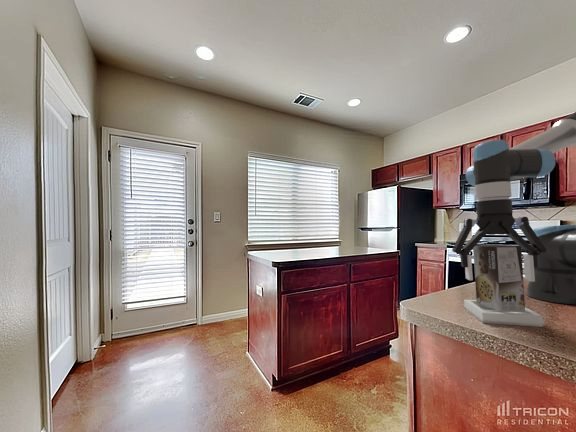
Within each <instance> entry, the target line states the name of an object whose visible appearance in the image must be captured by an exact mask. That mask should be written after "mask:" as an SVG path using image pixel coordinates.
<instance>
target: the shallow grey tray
mask: <svg viewBox="0 0 576 432" xmlns="http://www.w3.org/2000/svg"><path fill="white" fill-rule="evenodd" d="M463 304H464V306H463V307H464V309H465V310H466V311H467V312H468V313H469V314H471V315H472V316H474V317H475V318H476V319H478V320H479V321H480V322H481V323H482V324H492V325H493V324H494V325H495V324H496V325H509V326H510V325H511V326H522V327H523V326H524V327H537V328H538V327H540V328H544V317H543V315H542V314H539V313H537V312H536V311H534V310H531V309H529V308H527V307H525V312H500V311H497V310H495V309H492V308H490V307H487V306H485V305H482V304H479V303H477V301H476V299H463Z"/></svg>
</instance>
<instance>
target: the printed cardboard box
mask: <svg viewBox="0 0 576 432" xmlns="http://www.w3.org/2000/svg"><path fill="white" fill-rule="evenodd" d="M472 250H473V264H474V265H473V266H474V282H475V300H476V301H477V303H479V304H482V305H485V306H487V307H490V308H492V309H495V310H497V311H500V312H525V308H526V302H525V301H526V300H525V287H524V286H525V285H524V271H523V269H524V266H523V253H522V250H523V249H522V247H521V246H519V245H508V244H506V245H505V244H504V245H503V244H480V245H478V244H477V245H476V246H475V247H474V248H473V249H472Z"/></svg>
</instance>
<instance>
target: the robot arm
mask: <svg viewBox="0 0 576 432" xmlns="http://www.w3.org/2000/svg"><path fill="white" fill-rule="evenodd" d="M572 147H576V111H574V112H573V113H571V114H569V115H568V116H566V117H564V118H562V119H560V120H559V121H557V122H555V123H554V124H552V126H551V128H549V129H547V130H544V131H542V132H541V133H539V134H537V135H535V136H533V137H531V138H529V139H527V140H525V141H522V142H521V143H519V144H517V145H515V146H513V147H510V146H509V144H508V142H507V140H503V139H494V140H489V141H488V140H487V141H483V142H481V143H479V144H477V145H475V146H474V148H473V152H472V155H473V156H472V163H473V165H470V166H468V168H467V170H466V172H465V179H466V181H467V183H468V184H469V186H472V187H475V188H474V189H475V199H476V200H477V201H476V216H477V217H476V219H472V218H465V219H463V227H462V229H461V231H460V233H459V235H458V237H457V239H456V241H455V244H454V245H453V247H452V249H451V250H452V252H453V253H456V254H459V256H460V266H461V267H462V268H464V273H465V279H466V280H468V281H474V276H473V265H472V264H473V261H472V255H470V254H469V253H471V251H472V250H473V248H474V247H475V246H476V245H478V243H480V241H481V240H482V239H483V238H484V237H485V236H487V235H488V236H495V235H501V236H502V235H506V236H508V237H509V238H510V239H511V240H512V241H513V242H514V243H515V244H516V245H517V246H521V247H522V248H521V250H523V251H524V252H525V253H526V254H523V253H522V259H523V269H524V271H523V273H524V280H525V281H528V283H527V285H526V286H527V287H526V295H527V296H528V297H529V298H533V299H536V300H540V301H545V302H550V303H556V304H557V303H558V304H565V305H576V224H563V225H561V224H560V225H552V226H551V225H549V226H542V227H536V228H532V227H531V225H530V220H529V217H527V216H518V217H516V218H514V216H513V200H511V199H509V198H511V197H512V186H511V185H512V183H511V181H514V180H520V179H524V178H525V179H526V178H532V179H533V178H539V177H540V178H541V177H545V176H547V175H549V174H550V173H552V171H553V170H554V168H555V167H556V157H555V153H557V152H559V151H561V150H562V149H565V148H572ZM515 224H516V226H517V227H518V228H519V229H520V230H521V232H522V233H523V235H524V236H525V238H526V239H527V240H526V239H524V238H523V237H522V236H521V235H520V234H518V232H517V231H516V230H515V229H514V228H513V226H514V225H515ZM475 225H476V226H477V227H478V229H477V230H476V232H475V234H474V235H473V236H472V237H471V238H470V239H469V240H468V242H466V241H467V239H468V236H469V234H470V233H471V230H472V228H473V227H475ZM465 243H466V244H465Z"/></svg>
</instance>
